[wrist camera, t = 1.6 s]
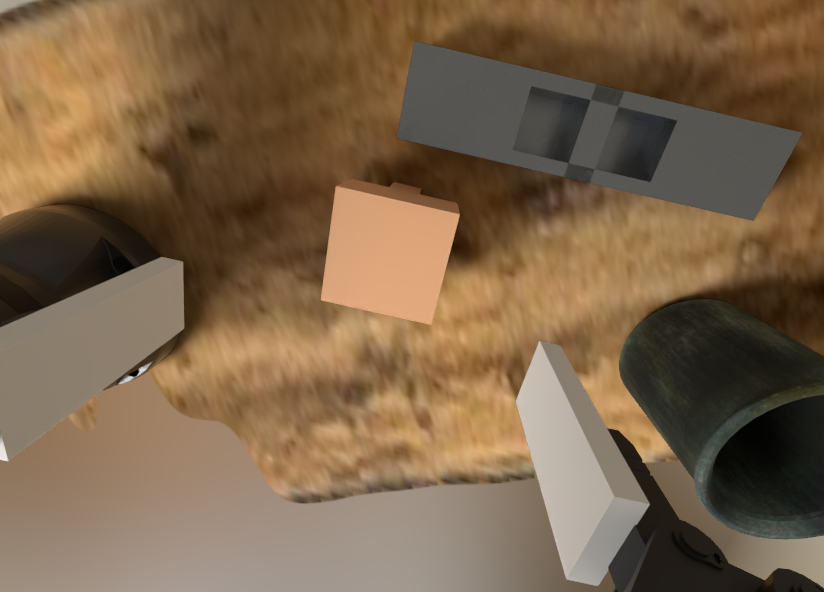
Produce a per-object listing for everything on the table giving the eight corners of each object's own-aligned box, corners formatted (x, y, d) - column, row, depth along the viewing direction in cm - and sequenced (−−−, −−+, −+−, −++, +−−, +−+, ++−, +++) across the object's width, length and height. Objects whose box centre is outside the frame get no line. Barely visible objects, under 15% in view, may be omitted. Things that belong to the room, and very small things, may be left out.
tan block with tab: (433, 284, 31) (431, 324, 24) (345, 265, 31) (320, 300, 24) (455, 196, 28) (460, 214, 22) (360, 174, 28) (335, 185, 21)
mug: (615, 295, 30) (718, 388, 19) (823, 281, 29) (1065, 374, 18) (604, 410, 34) (683, 542, 23) (786, 403, 33) (963, 540, 22)
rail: (402, 137, 27) (396, 138, 23) (418, 54, 25) (414, 40, 21) (711, 209, 27) (753, 220, 24) (750, 133, 25) (802, 132, 22)
